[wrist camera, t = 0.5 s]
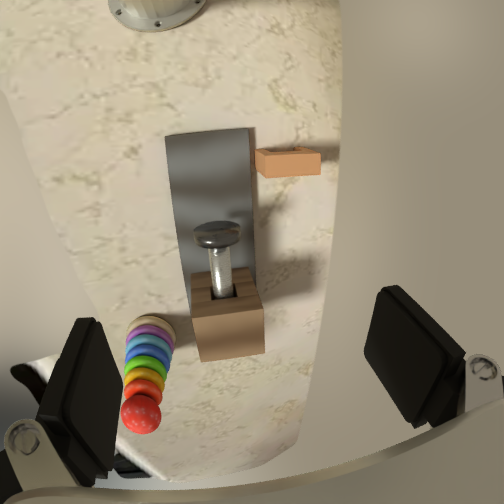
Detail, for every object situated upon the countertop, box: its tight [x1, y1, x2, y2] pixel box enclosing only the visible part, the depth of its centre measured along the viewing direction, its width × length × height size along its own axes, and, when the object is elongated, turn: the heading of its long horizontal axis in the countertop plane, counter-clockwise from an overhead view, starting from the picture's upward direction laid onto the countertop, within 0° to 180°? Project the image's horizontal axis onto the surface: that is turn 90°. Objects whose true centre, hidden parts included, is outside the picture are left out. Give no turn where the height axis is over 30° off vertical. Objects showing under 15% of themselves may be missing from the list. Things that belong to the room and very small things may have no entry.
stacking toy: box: [121, 316, 176, 434], centre depth 38 cm, size 8×8×19 cm
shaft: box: [193, 221, 241, 300], centre depth 38 cm, size 16×5×5 cm, turn 3°
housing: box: [165, 128, 265, 362], centre depth 36 cm, size 26×10×11 cm, turn 3°
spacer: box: [254, 147, 321, 178], centre depth 36 cm, size 2×6×6 cm, turn 93°
